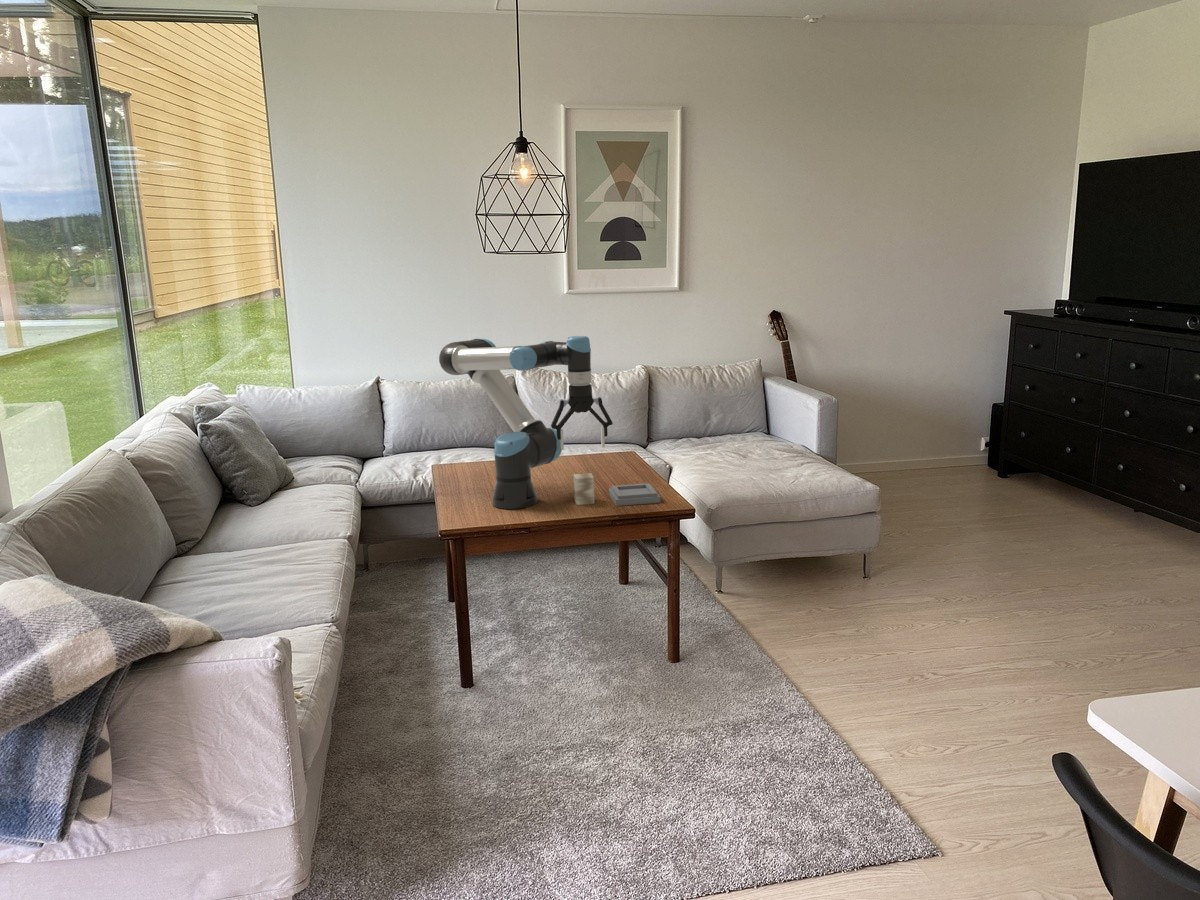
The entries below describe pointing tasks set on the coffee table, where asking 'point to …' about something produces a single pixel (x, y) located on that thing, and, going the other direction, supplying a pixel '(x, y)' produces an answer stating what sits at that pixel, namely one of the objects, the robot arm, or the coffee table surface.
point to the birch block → (583, 489)
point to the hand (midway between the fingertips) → (582, 447)
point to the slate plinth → (634, 494)
